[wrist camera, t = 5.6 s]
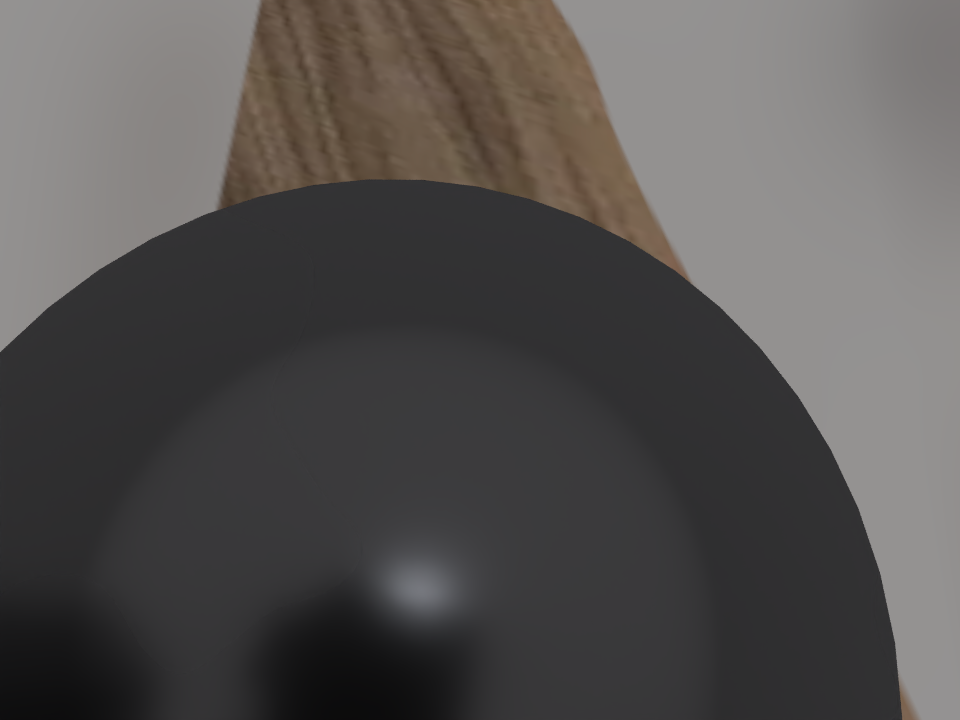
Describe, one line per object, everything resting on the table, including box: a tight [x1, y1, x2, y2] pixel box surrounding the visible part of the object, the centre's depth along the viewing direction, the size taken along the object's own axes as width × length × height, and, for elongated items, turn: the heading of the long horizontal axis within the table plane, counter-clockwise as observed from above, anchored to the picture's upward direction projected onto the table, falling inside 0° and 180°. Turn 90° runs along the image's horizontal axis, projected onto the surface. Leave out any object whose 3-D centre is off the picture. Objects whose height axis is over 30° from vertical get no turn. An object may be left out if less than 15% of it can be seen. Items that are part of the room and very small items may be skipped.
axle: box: [0, 180, 902, 720], centre depth 9 cm, size 4×4×13 cm
